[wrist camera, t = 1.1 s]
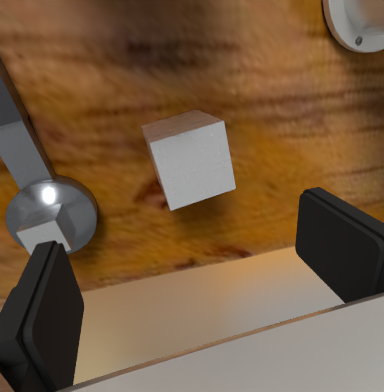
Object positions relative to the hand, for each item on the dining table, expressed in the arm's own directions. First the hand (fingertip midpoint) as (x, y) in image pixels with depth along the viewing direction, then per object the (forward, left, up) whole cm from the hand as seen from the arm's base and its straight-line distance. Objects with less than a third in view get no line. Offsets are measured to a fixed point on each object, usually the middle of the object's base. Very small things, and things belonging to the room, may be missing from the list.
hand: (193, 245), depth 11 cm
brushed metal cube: (-3, +2, -20) cm, 20 cm away
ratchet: (+11, -2, -20) cm, 23 cm away
